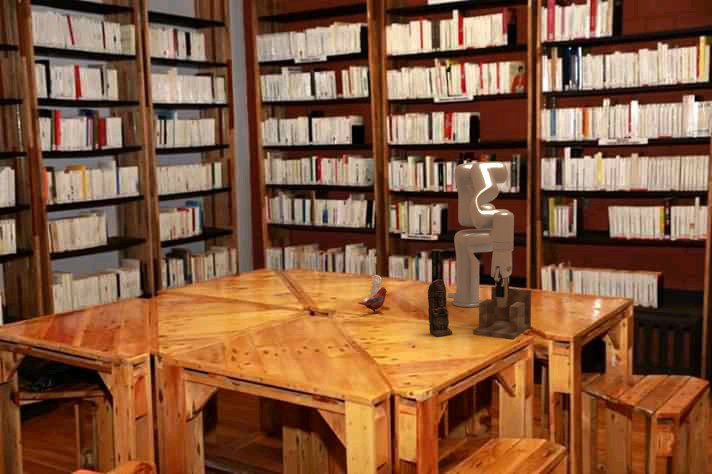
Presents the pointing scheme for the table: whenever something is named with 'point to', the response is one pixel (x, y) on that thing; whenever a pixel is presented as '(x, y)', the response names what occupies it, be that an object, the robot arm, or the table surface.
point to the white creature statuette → (374, 286)
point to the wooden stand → (505, 315)
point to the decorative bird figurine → (375, 300)
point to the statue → (438, 309)
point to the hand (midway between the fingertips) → (502, 295)
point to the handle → (503, 300)
